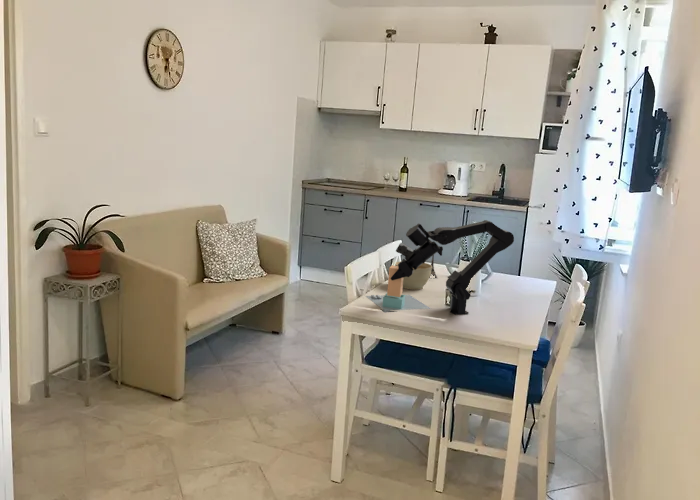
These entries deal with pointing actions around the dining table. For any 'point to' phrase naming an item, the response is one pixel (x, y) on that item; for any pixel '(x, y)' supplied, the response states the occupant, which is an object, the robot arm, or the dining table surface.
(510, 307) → the dining table surface
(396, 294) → the terracotta brick
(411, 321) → the dining table surface
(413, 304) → the baseplate
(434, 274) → the eiffel tower figurine
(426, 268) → the planter bowl
